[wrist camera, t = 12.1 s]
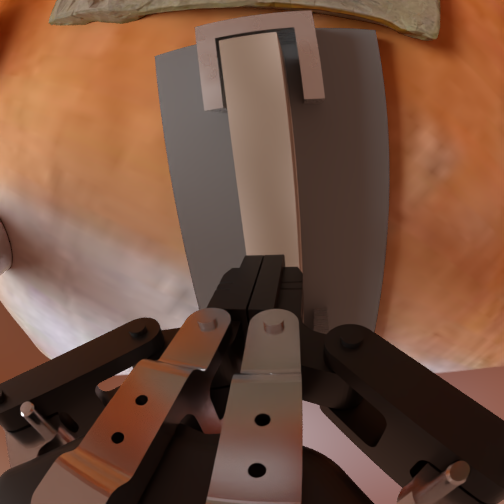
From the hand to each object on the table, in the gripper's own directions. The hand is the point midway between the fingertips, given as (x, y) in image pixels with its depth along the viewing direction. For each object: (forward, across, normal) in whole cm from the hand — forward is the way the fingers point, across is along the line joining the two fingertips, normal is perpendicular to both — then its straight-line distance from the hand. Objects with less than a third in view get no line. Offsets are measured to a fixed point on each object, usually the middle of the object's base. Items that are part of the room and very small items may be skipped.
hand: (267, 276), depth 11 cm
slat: (+8, 0, 0) cm, 8 cm away
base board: (+9, 0, 0) cm, 9 cm away
